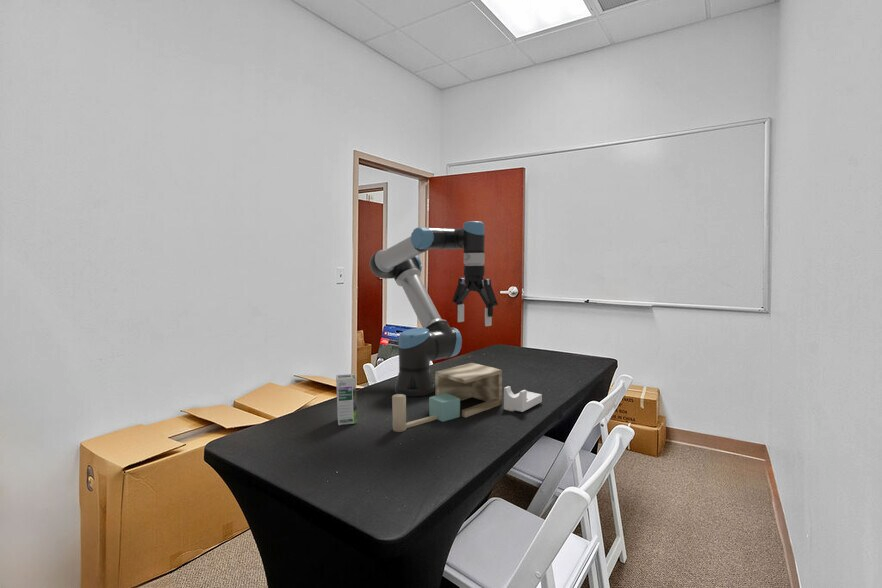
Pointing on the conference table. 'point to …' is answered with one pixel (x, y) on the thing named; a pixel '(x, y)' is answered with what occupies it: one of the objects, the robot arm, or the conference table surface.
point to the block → (439, 409)
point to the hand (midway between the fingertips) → (474, 323)
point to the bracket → (520, 400)
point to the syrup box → (346, 399)
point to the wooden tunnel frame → (471, 385)
